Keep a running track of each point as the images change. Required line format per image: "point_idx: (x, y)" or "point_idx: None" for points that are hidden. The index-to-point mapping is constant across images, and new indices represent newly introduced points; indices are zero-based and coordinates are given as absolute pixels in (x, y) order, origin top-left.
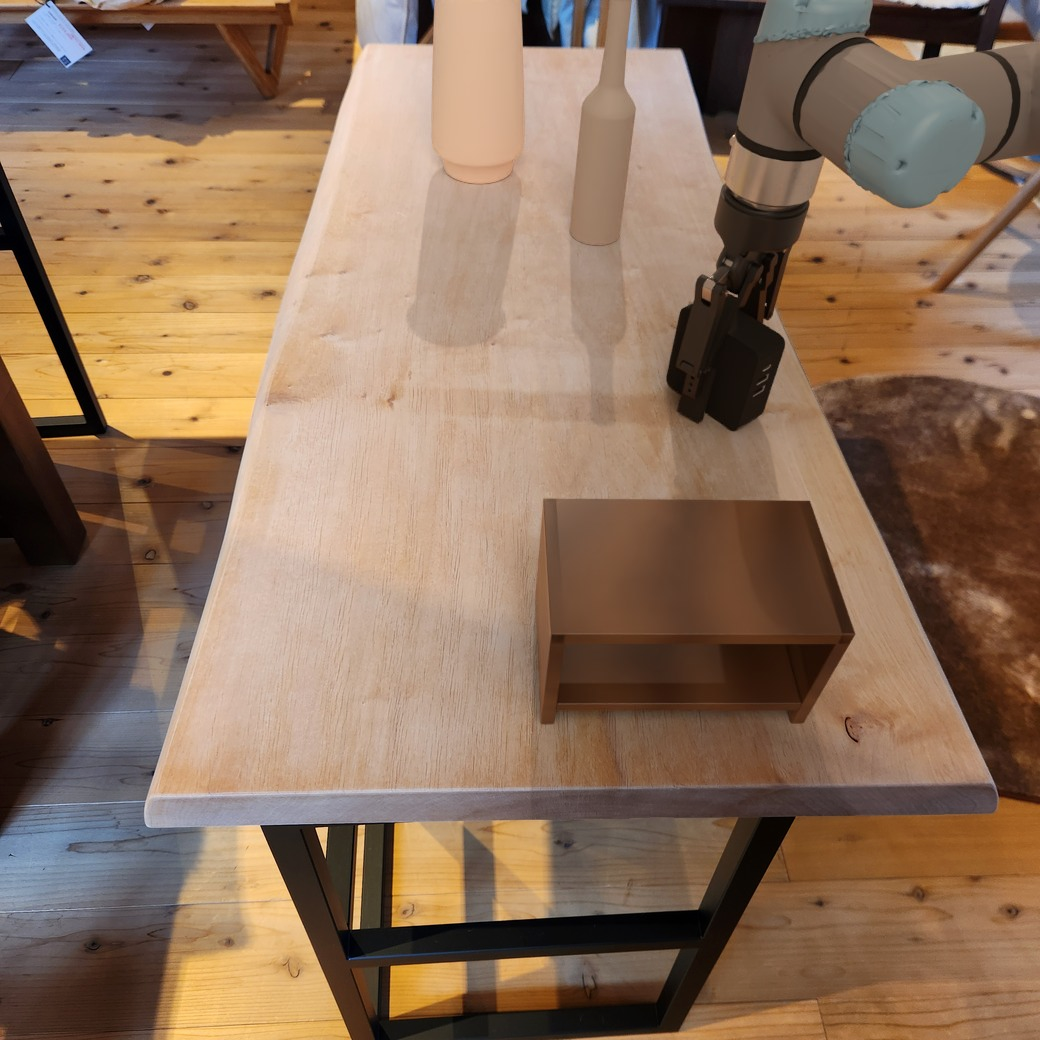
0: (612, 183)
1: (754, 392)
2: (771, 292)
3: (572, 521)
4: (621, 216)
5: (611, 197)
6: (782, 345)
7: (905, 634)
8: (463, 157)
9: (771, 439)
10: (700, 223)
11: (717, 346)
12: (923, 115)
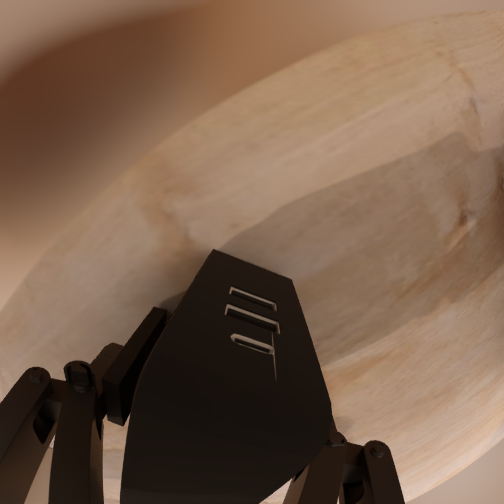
0: (43, 498)
1: (266, 307)
2: (15, 442)
3: None
4: (41, 462)
5: (48, 489)
6: (169, 368)
7: (480, 19)
8: None
9: (267, 206)
10: None
11: (332, 493)
12: None
